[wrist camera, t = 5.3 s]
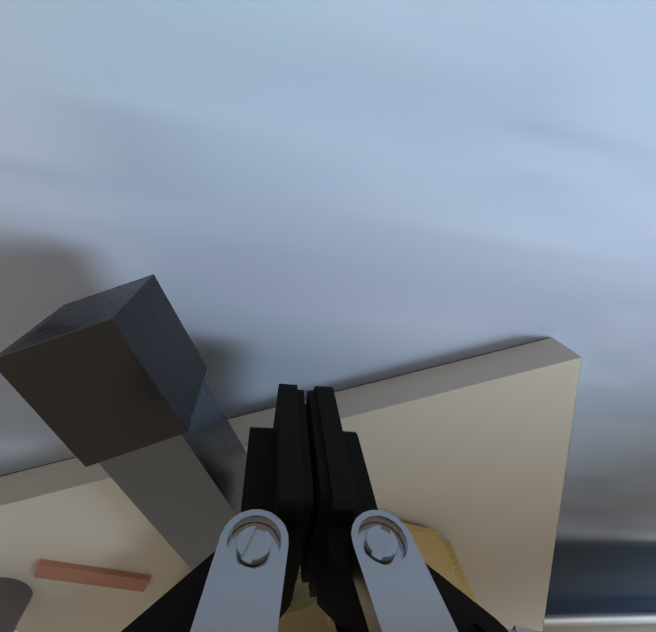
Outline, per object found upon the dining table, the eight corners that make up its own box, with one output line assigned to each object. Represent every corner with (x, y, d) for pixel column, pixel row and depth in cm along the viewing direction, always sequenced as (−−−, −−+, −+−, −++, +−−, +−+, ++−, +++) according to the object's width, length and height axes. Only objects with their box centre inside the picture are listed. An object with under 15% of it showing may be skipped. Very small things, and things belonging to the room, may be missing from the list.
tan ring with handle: (472, 632, 20) (523, 755, 16) (241, 709, 20) (233, 851, 16) (363, 200, 9) (435, 242, 5) (-137, 372, 9) (-459, 548, 5)
